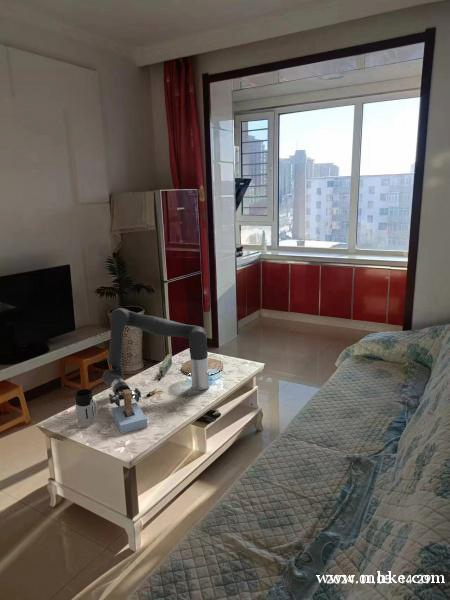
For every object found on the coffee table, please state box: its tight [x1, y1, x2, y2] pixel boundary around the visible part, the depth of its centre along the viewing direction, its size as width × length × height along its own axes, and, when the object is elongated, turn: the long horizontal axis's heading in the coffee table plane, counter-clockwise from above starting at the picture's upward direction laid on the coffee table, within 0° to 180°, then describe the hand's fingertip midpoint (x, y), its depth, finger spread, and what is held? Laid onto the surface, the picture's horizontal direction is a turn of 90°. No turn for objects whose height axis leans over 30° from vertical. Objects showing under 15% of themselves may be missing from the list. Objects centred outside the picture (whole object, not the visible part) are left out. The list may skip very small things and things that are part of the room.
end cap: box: [111, 402, 148, 434], centre depth 202 cm, size 12×18×4 cm, turn 26°
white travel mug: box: [74, 388, 98, 428], centre depth 199 cm, size 9×14×15 cm, turn 50°
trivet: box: [181, 357, 224, 375], centre depth 260 cm, size 25×25×2 cm
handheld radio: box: [157, 353, 173, 381], centre depth 256 cm, size 7×3×25 cm
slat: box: [123, 389, 133, 417], centre depth 200 cm, size 2×4×14 cm, turn 27°
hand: (128, 402), depth 198 cm, fingers open, 8 cm apart
